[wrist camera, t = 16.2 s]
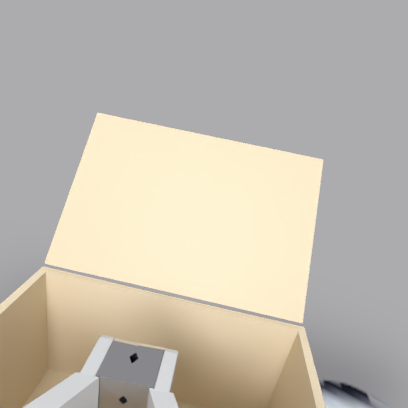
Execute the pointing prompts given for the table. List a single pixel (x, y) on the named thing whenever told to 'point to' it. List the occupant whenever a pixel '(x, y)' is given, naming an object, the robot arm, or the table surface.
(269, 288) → the carton flap
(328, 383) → the table surface
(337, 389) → the table surface
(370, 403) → the table surface
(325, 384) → the table surface
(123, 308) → the carton
